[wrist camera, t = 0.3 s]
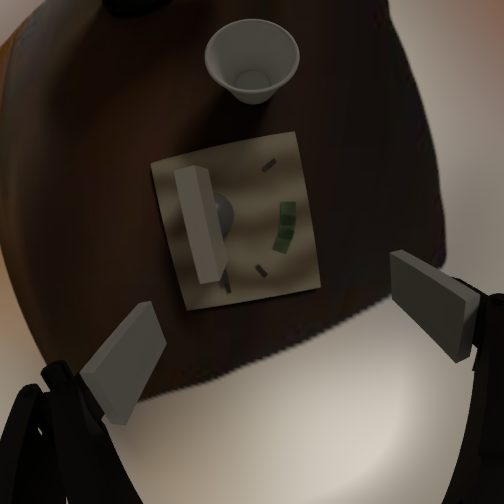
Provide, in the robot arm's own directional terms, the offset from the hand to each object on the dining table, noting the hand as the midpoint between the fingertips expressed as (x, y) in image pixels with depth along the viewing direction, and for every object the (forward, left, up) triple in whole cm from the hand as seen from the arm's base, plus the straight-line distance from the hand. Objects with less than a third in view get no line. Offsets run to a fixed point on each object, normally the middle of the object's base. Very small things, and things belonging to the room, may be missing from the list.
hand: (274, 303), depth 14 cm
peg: (-1, -6, -24) cm, 25 cm away
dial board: (-1, -3, -26) cm, 26 cm away
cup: (-20, +3, -26) cm, 33 cm away
